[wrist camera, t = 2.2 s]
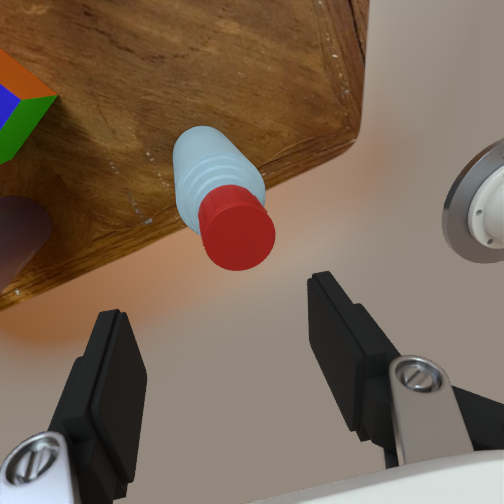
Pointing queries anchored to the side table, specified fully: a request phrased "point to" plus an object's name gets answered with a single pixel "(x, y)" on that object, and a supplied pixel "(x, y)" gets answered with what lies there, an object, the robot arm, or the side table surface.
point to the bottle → (209, 170)
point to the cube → (19, 104)
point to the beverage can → (20, 234)
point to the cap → (235, 228)
